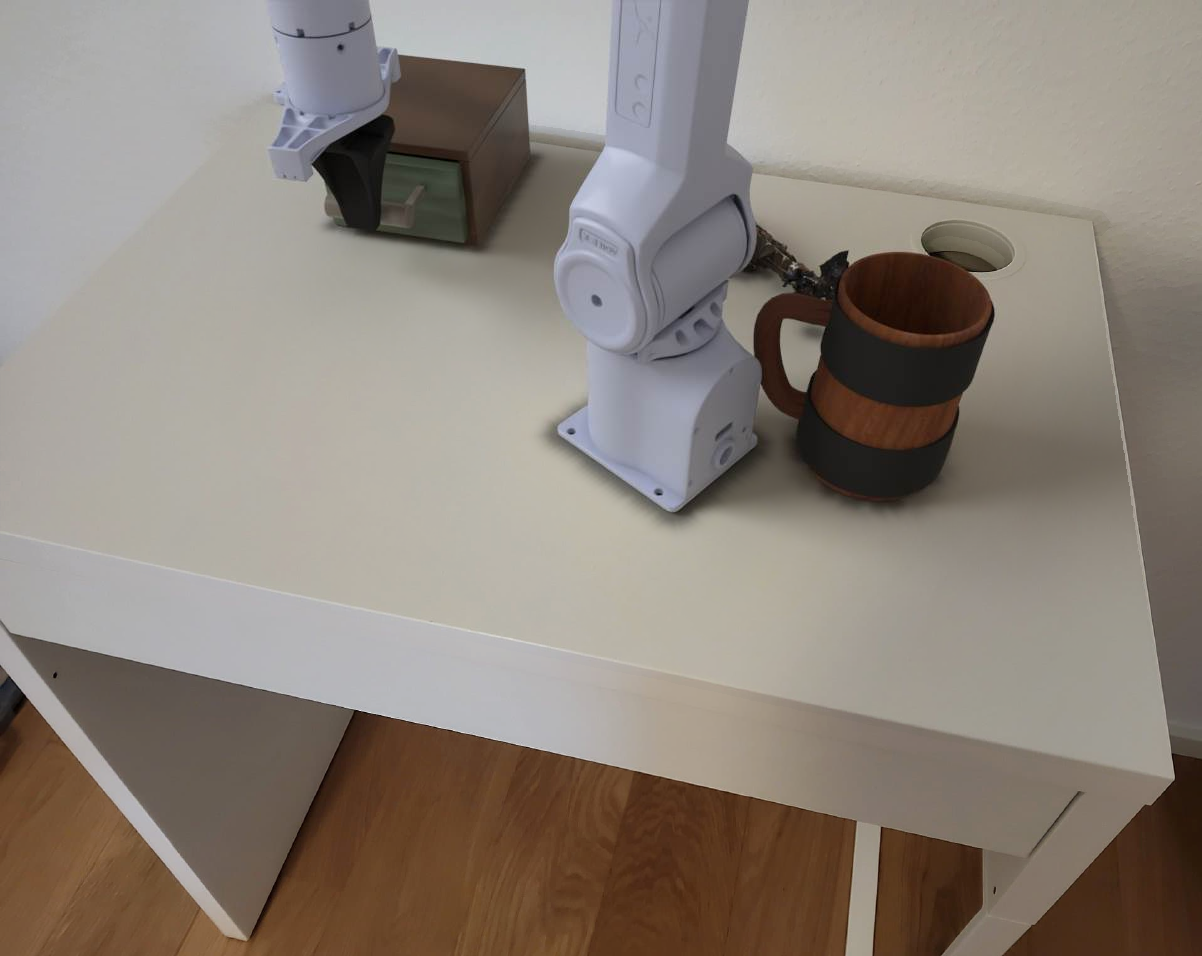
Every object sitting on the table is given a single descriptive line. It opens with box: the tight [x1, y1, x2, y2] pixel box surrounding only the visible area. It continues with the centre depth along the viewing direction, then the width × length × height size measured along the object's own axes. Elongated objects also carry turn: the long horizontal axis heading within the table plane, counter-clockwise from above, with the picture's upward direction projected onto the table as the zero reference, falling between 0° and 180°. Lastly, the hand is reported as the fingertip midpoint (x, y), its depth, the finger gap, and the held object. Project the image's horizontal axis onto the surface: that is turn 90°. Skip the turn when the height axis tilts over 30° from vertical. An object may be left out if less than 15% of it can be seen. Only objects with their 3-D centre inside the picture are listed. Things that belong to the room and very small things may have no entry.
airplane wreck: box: [742, 221, 850, 300], centre depth 65 cm, size 6×18×6 cm, turn 36°
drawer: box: [323, 154, 469, 244], centre depth 70 cm, size 17×10×6 cm, turn 166°
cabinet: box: [335, 53, 531, 246], centre depth 72 cm, size 14×12×8 cm
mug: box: [752, 251, 996, 502], centre depth 51 cm, size 9×12×12 cm
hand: (364, 225), depth 64 cm, fingers closed, pressing on drawer
